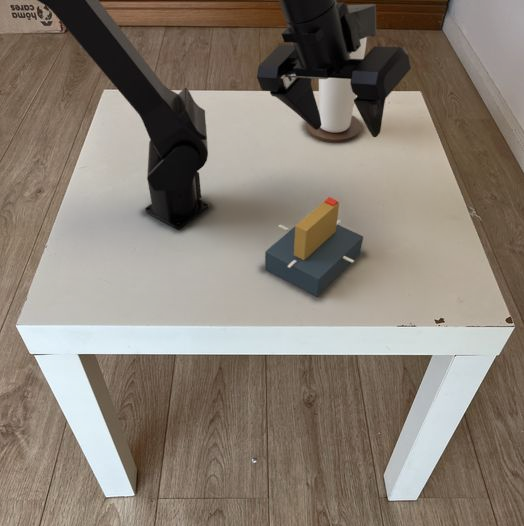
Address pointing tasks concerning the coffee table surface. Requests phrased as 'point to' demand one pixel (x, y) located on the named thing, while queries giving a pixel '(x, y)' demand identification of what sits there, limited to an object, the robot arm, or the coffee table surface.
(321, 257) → the base
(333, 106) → the drinking glass
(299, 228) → the tap handle
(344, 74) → the robot arm
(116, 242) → the coffee table surface
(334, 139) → the coaster
